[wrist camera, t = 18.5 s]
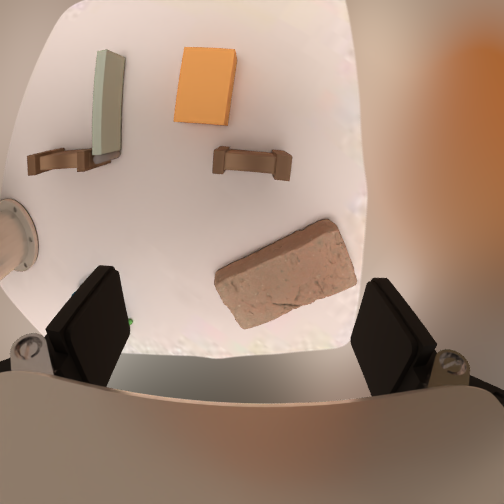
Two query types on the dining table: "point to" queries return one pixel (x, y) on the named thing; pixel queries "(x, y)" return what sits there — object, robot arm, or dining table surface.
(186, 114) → the orange rectangular block
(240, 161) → the wall frame
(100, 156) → the door
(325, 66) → the dining table surface
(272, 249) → the brick
